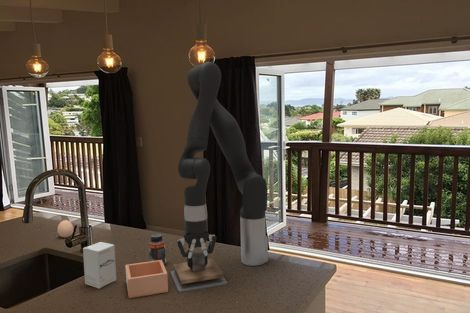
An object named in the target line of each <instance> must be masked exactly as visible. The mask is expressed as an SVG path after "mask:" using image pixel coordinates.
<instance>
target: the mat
mask: <svg viewBox="0 0 470 313" xmlns="http://www.w3.org/2000/svg"><path fill="white" fill-rule="evenodd" d="M169 273H170V275H171V278H172V280H173V283H174V285H175V287H176V289H177V292H178V293H180V294H181V293H187V292H191V291H192V292H193V291H198V290H204V289H209V288H214V287H215V288H216V287H220V286H227V285H228V281H227V280H226V279H225V277H222V278H216V279H210V280H204V281H198V282H192V283H186V284H181V282H180V280H179V278H178V276H177V274H176V272H175V270H170V271H169Z"/></svg>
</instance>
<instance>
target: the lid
mask: <svg viewBox="0 0 470 313" xmlns="http://www.w3.org/2000/svg"><path fill="white" fill-rule="evenodd" d="M173 271H175V272H176V274H177V276H178V278H179V280H180V282H181V284H186V283H192V282H198V281H204V280H210V279H216V278H222V277H224V276H225V275H224V274H225V273H224V272H223V271H222V270H221V268H220V267H219V266H218V264H217V263H216V262H215V260H214V259H213V258H208V263H207V265H206V266H205V258H204V255H203V252H202V251H198V252H192V269H190V267H188V265H187V261H186V262H180V263H173ZM224 278H225V277H224Z"/></svg>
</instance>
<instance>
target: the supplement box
mask: <svg viewBox="0 0 470 313" xmlns="http://www.w3.org/2000/svg"><path fill="white" fill-rule="evenodd" d="M115 249H116V248H115V244H113V243H108V242H103V241H99V242H96V243H93V244H91V245H89V246H85V247H83V248H82V252H83V254H82V256H83V270H84V271H83V272H84V284H85V285H88V286H91V287H93V288H96V289H98V290H99V289H101V288H103V287H104V286H107V285H109V284H112V283H114V282H115V281H117V267H116V250H115Z"/></svg>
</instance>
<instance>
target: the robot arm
mask: <svg viewBox="0 0 470 313" xmlns="http://www.w3.org/2000/svg"><path fill="white" fill-rule="evenodd" d="M186 77H187V84H188V86H189V89H190V91H191V92H192V94H193V97H194V98H195V99H196V101H197V103H196V106H195V108H194V110H193V112H192V116H191V117H190V120H189V124H188V128H187V136H186V142H185V146H184V148H183V150H182V153H181V156H180V158H179V160H178V163H177V172H178V175H179V176H180V178H182V179H185V180H187V179H188V180H196V182H195V184H194V185H193V184H192V185H189V186H186V187H184V191H183V192H184V194H183V197H184V208H183V209H184V211H183V214H184V215H183V217H184V219H183V220H184V235H183V237H182V238H180V239H179V238H177V239H175V242H176V245H177V246H178V249H179V252H180V254H181V256H182V258H186V262H187V265H188V267H190V269H192V253H194V249H196V248H200V249H201V252H202V253H203V255H204V258H205V266H206V265H207V263H208V259H209V258H208V256H209V254H212V253H214V249H215V245H216V243H217V240H218V239H217V236H216V235H215V233H213V234H209V231H208V209H207V195H206V192H207V186H208V181H209V176H210V174H211V173H210V172H211V164H210V161H209V160H208V159H207V158H204V157H195V156H196V154H198V153H201V152H205V151H206V150H208V142H209V134H210V128H211V130H212V133H213V135H214V137H215V139H216V141H217V144H218V146H219V148H220V149H221V150H220V151H221V152H222V153H223V156H224V157H225V159H226V161H227V162H228V164H229V166H230V169H231V171H232V174H233V177H234V179H235V183H236V187H237V189H238V190H239V192H240V193H241V194H242V207H241V208H240V210H239V213H240V214H239V215H240V217H239V218H240V221H239V222H240V224H239V225H240V262H241V263H242V264H243V265H245V266H261V265H264V264H266V263H268V262H269V252H268V248H269V246H268V245H269V244H268V241H269V238H268V236H267V235H266V234H267V233H266V212H267V209H268V184H267V181H266V179H265V178H264V177H263V175H260V174H258V173H257V172H256V171H255V169H254V167H253V165H252V164H251V162H250V160H249V157H248V154H247V148H246V142H245V139H244V135H243V132H242V130H241V128H240V126H239V123H238V122H237V120H236V118H235V117H234V116H233V115H232V114H231V113H230V112H229V111H228V110H227V109H226V108H225V107H224V106H223V105H222V104H221V103H220V102H219V100H218V98H217V97H218V92H219V89H220V85H221V81H222V72H221V69H220V68H219V66H218V65H217V63H215V62H212V61H206V62H203V63H201V64H199V65H197V66H195V67H192V68H191V69H189V70H188V72H187V76H186ZM208 240H209V244H208V246H207V247H206V242H207V241H208ZM185 243H186V244H187V250H186V251H185V249H184V244H185Z"/></svg>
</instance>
